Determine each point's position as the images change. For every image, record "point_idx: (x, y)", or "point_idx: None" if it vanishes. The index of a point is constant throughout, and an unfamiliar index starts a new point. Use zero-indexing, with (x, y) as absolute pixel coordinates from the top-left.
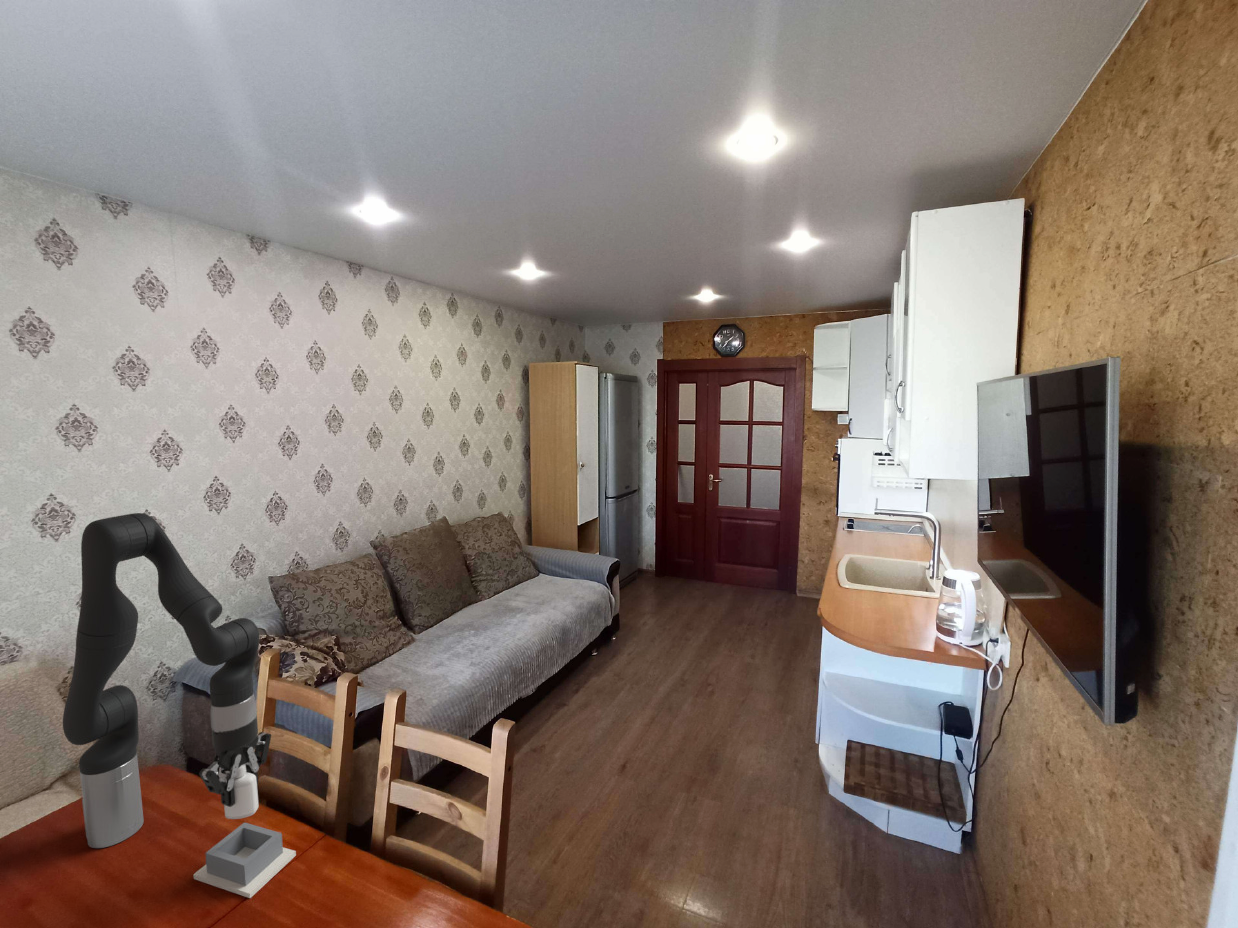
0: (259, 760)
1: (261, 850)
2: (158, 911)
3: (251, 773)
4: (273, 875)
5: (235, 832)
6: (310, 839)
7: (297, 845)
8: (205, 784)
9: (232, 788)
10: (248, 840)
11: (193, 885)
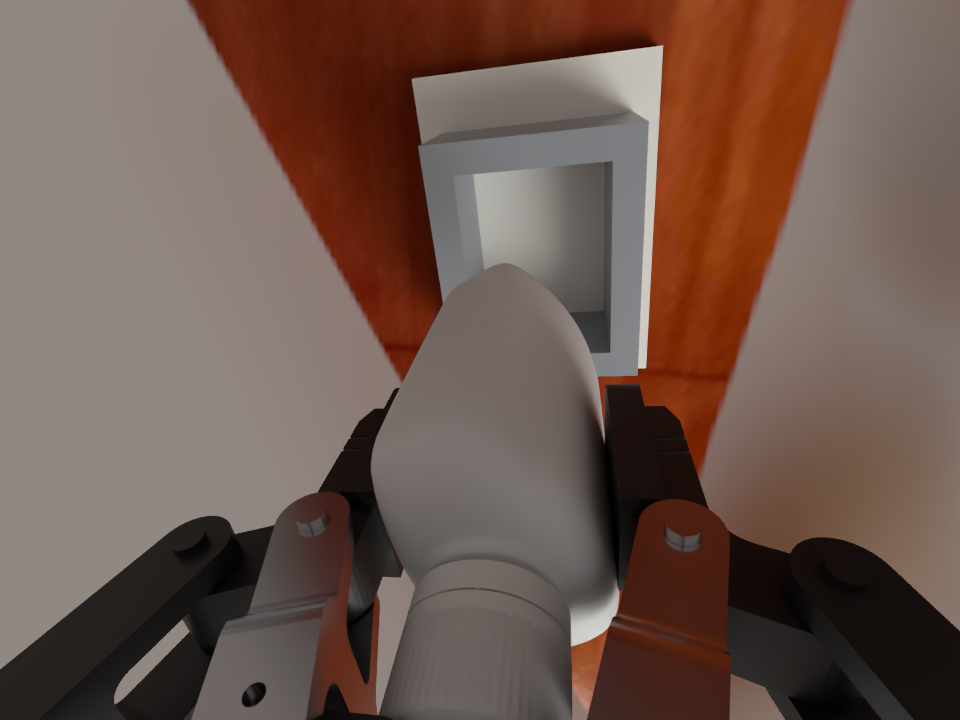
0: (776, 689)
1: None
2: (280, 116)
3: (600, 618)
4: None
5: (571, 152)
6: (725, 348)
7: (686, 326)
8: (37, 648)
9: (390, 570)
10: (607, 178)
11: (400, 116)
